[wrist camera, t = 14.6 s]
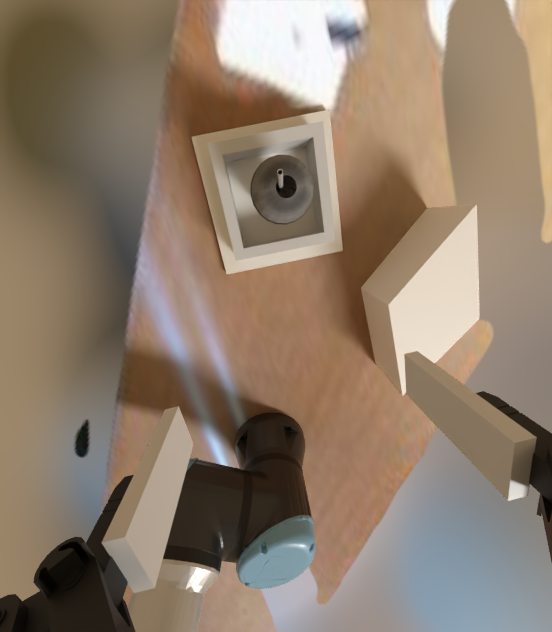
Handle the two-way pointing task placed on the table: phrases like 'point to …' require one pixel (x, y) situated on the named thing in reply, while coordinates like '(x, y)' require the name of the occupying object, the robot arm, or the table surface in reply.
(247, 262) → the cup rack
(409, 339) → the block
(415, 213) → the table surface
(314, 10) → the table surface
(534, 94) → the table surface
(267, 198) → the beverage cup
